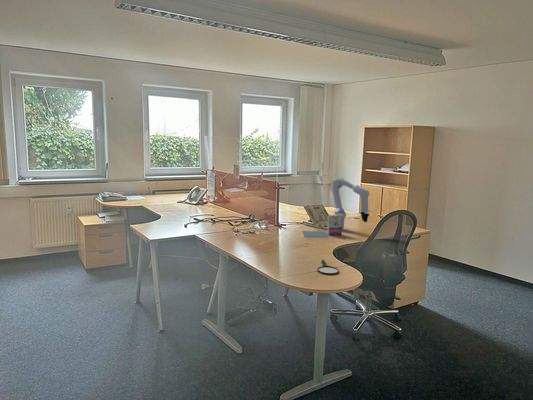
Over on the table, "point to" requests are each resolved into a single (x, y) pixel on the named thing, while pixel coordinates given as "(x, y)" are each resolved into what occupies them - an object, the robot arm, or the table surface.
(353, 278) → the table surface
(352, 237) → the table surface
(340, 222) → the candy bar box
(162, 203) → the table surface
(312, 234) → the mat
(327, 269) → the magnifying glass
